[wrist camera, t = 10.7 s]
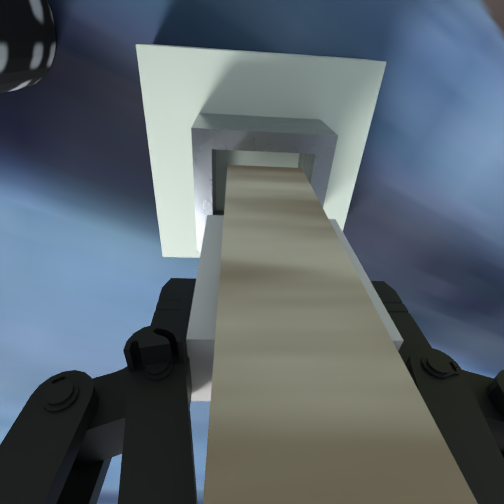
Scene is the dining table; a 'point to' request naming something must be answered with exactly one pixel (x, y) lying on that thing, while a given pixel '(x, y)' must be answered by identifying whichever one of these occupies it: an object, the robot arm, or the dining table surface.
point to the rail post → (309, 367)
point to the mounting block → (251, 104)
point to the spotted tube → (25, 42)
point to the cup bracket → (256, 139)
